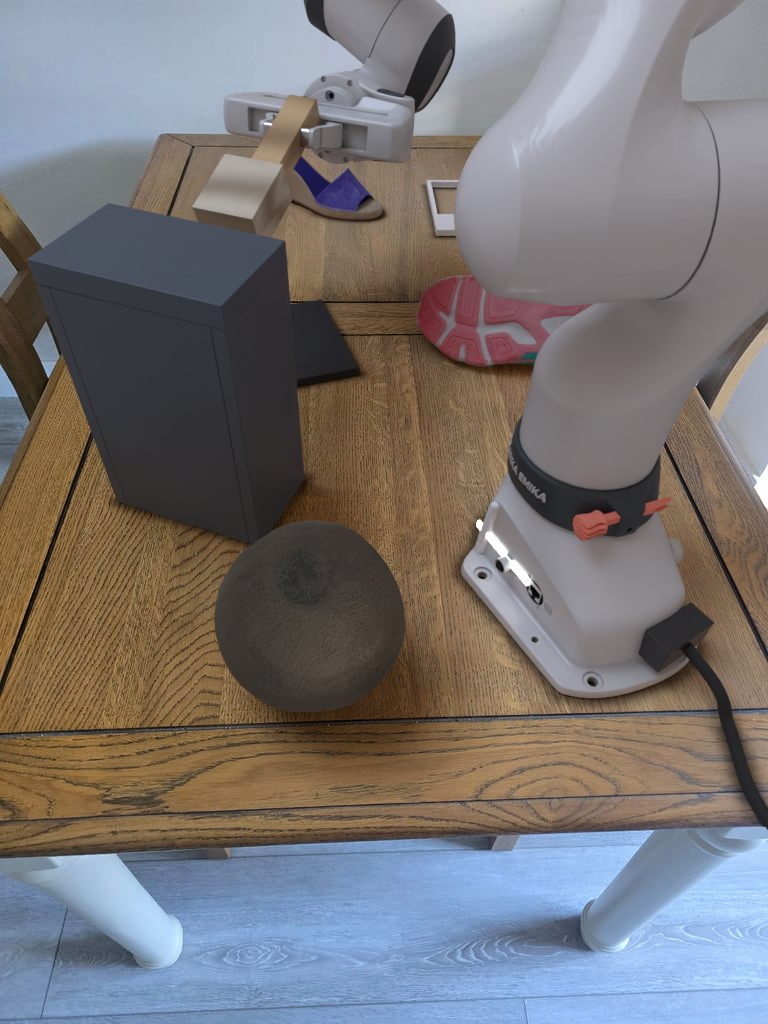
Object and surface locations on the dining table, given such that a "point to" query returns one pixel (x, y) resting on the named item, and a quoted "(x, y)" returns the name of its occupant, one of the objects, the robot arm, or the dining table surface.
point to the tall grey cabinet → (181, 364)
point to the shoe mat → (318, 345)
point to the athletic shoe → (486, 323)
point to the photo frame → (441, 221)
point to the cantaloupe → (309, 617)
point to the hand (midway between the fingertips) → (286, 135)
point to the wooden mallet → (258, 175)
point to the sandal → (332, 194)
